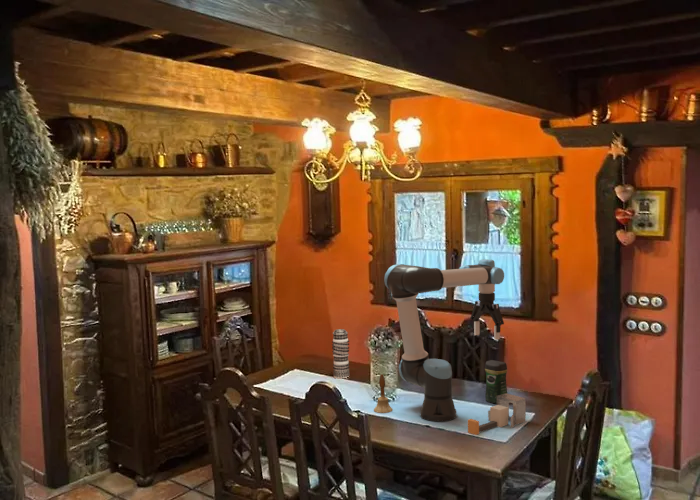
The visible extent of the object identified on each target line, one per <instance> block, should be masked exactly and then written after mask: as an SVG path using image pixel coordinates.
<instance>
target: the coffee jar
mask: <svg viewBox="0 0 700 500" xmlns="http://www.w3.org/2000/svg"><path fill="white" fill-rule="evenodd" d="M484 371H485V378H486V380H485V397H484V398H485V399H484V400H485V401H486V402H489V403H493V404H495V405H497V396H498V395H502V394H505V393H507V394H508V389H507V388H508V387H507V373H508V365H507V363H506V362H505V361H498V360H493V359H490V360H486V362H485V363H484Z"/></svg>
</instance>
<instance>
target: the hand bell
mask: <svg viewBox="0 0 700 500" xmlns="http://www.w3.org/2000/svg"><path fill="white" fill-rule="evenodd" d="M378 381H379V382H378V383H379V387H380V396H379V397H377V404H376V406H375V407H374V408H373V411H374V412H375V413H377V414H388V413H392V412H393V407H392V406H391V405H390V404H389V403H390V402H389V398H388V397H387V396H386V395H385V386H386V379H385V376H384V374H383V373H382V374H380V377H379V380H378Z"/></svg>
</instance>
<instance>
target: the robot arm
mask: <svg viewBox="0 0 700 500" xmlns="http://www.w3.org/2000/svg"><path fill="white" fill-rule="evenodd" d="M504 280H505V272H504V270H503V269H502V268H500V267H497V266H496V262H495V261H494V260H493V259H490V258H489V259H486V258H484V259H479V260H478V263H477V264H468V265H467V264H466V265H462V266H459V268H455V269H440V268H437V267H424V266H418V265H411V264H409V265H408V264H402V263H399V264H393V265H391V266H390V267H388V269H387V271H385V273H384V285H385V287H386V288H387V289H388V290H389V291H390V293H391V298H392V299H393V300H395V302H396V308H397V314H398V319H399V320H398V321H399V328H400V332H401V339H402V345H403V346H402V347H403V352H404V353H403V354H402V355H401V360H400V363H399V364H398V372H399V376H400V377H401V379H402V380H403V381H405V382H406V383H408V384H410V385H414V386H417V387H420V388H423V394H424V396H423V402H422V405H421V408H420V417H421V419H423V420H427V421H431V422H448V421H452V420H454V419H456V418H457V409H456V407H455V404H454V400H453V382H452V381H453V379H452V378H453V371H452V365H451V363H449V362H448V361H447V360H445V359H440V358H439V359H438V358H429V353H428V352H427V351H426V350H425V348H424V343H423V336H422V330H421V324H420V318H419V310H418V305H417V304H418V303H417V297H418V295H419V294H424V293H430V292H438V291H441V290H442V289H443V288H445V289H446V288H455V287H456V288H457V287H466V286H477V285H478V292H479V293H478V300H476V301H474V306H473V309H472V313H471V315H470V320H472V321H473V329H474V331H473V332H474V333H473V334H474V336H479V335H480V333H481V332H480V331H481V330H480V328H481V327H480V326H481V325H480V324H481V323H480V319H481V317H482V315H483V314H484V313H488V314H489V316H490V317H491V319H492V321H493V324H494V326H493V327H494V328H493V333H494V334H493V335H494V337H493V338H494V339H493V340H495V341H496V340H500V339H501V337H500V335H501V326H502V325H504V324H505V322H504V318H503V316H502V313H501V309H500V305H499V303H494V302H495V300H496V293H495V291H496V290H495V288H496V287H495V286H496V285H500V284H502V283H503V282H504Z"/></svg>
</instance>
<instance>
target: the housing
mask: <svg viewBox="0 0 700 500" xmlns="http://www.w3.org/2000/svg"><path fill="white" fill-rule="evenodd" d="M510 403H511V404H512V415H511V416H510ZM496 405H501V406H504V407H508V418H509V417H510V429H511V428H512V429H513V428H514V427H515V426H516V425H519V424H523V423H526V421H527V420H526V417H527V416H526V412H527V411H526V409H527V407H526V405H527V404H526V397H523V396H517V395H514V394H510V393H508V392H507V393H505V394H502V395H498V396H497V404H496ZM487 418H488V419H487V420H488V421H489V422H490V410H488V411H487Z"/></svg>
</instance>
